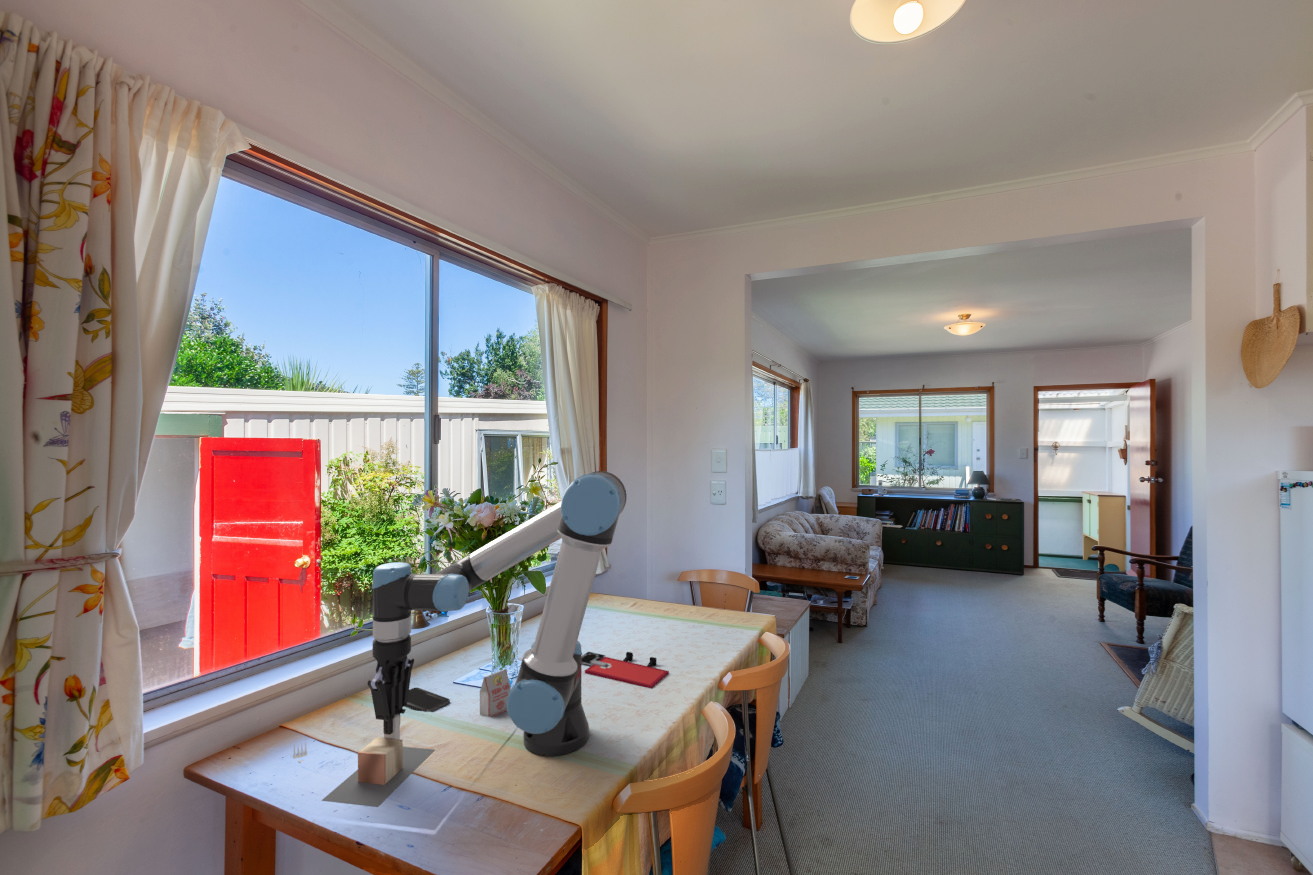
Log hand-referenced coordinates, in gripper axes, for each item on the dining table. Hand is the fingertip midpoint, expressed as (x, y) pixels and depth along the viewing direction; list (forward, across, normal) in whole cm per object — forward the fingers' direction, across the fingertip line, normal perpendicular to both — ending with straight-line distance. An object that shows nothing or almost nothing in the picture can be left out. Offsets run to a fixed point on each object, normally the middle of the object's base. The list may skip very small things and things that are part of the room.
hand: (391, 745), depth 123 cm
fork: (+5, +4, -19) cm, 20 cm away
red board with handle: (+5, -58, +36) cm, 69 cm away
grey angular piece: (+5, -27, +11) cm, 29 cm away
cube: (+1, +1, 0) cm, 1 cm away
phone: (+5, -29, -11) cm, 31 cm away
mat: (+5, +3, 0) cm, 6 cm away
